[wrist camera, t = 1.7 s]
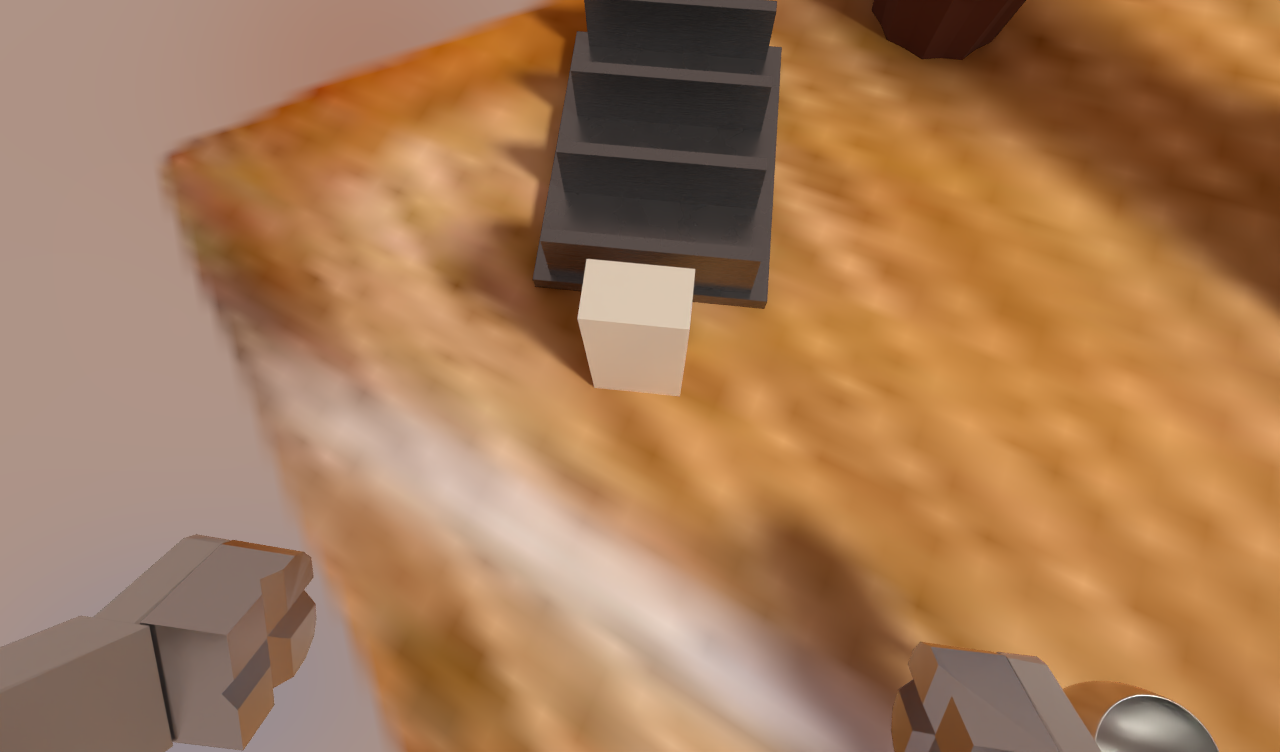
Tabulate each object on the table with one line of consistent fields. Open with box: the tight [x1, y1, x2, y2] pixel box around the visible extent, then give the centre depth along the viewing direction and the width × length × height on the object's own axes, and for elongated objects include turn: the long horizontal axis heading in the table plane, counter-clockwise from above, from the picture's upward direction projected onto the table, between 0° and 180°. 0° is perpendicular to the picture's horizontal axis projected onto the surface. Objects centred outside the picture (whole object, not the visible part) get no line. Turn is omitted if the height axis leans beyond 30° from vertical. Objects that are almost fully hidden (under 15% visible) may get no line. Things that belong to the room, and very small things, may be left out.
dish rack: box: [533, 0, 782, 309], centre depth 42 cm, size 19×14×5 cm
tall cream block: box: [577, 259, 695, 396], centre depth 36 cm, size 3×5×10 cm, turn 84°
